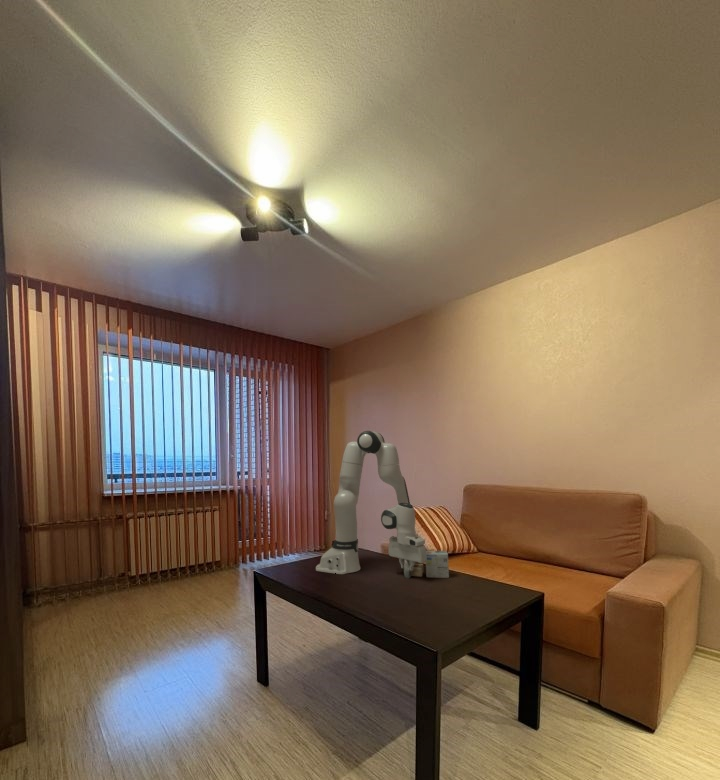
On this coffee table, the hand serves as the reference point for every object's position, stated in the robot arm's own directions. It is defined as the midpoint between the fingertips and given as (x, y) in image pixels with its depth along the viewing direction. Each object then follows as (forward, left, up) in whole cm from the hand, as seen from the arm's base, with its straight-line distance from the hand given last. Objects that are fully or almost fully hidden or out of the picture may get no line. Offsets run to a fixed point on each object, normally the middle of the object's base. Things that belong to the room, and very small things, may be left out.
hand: (407, 569), depth 189 cm
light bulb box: (+14, +6, -4) cm, 15 cm away
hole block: (+3, +7, -4) cm, 8 cm away
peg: (0, 0, -4) cm, 4 cm away
